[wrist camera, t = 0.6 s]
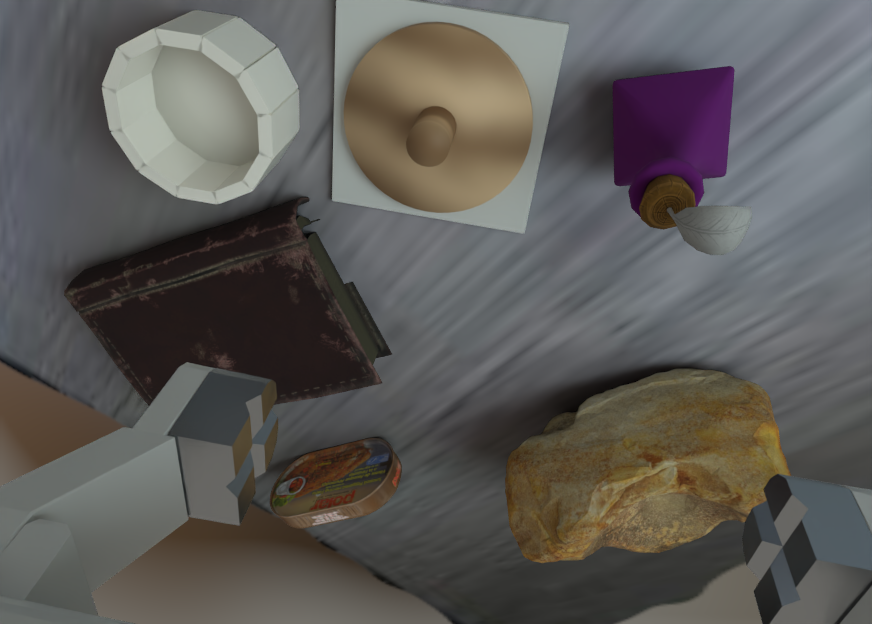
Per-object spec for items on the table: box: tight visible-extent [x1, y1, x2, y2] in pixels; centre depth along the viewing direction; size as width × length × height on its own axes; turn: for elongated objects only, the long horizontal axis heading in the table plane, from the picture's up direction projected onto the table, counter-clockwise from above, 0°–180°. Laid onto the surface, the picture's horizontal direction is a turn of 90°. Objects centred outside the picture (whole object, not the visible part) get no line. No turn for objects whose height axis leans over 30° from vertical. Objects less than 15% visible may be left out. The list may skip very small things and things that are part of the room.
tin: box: [270, 438, 402, 528], centre depth 70 cm, size 15×3×8 cm, turn 115°
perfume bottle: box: [613, 66, 752, 255], centre depth 40 cm, size 8×8×18 cm
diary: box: [64, 197, 392, 406], centre depth 62 cm, size 19×25×5 cm
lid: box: [344, 22, 533, 213], centre depth 47 cm, size 14×14×5 cm
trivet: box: [332, 0, 569, 234], centre depth 50 cm, size 16×16×1 cm
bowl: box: [102, 10, 300, 204], centre depth 49 cm, size 12×12×6 cm
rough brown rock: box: [505, 369, 791, 563], centre depth 60 cm, size 23×17×15 cm
